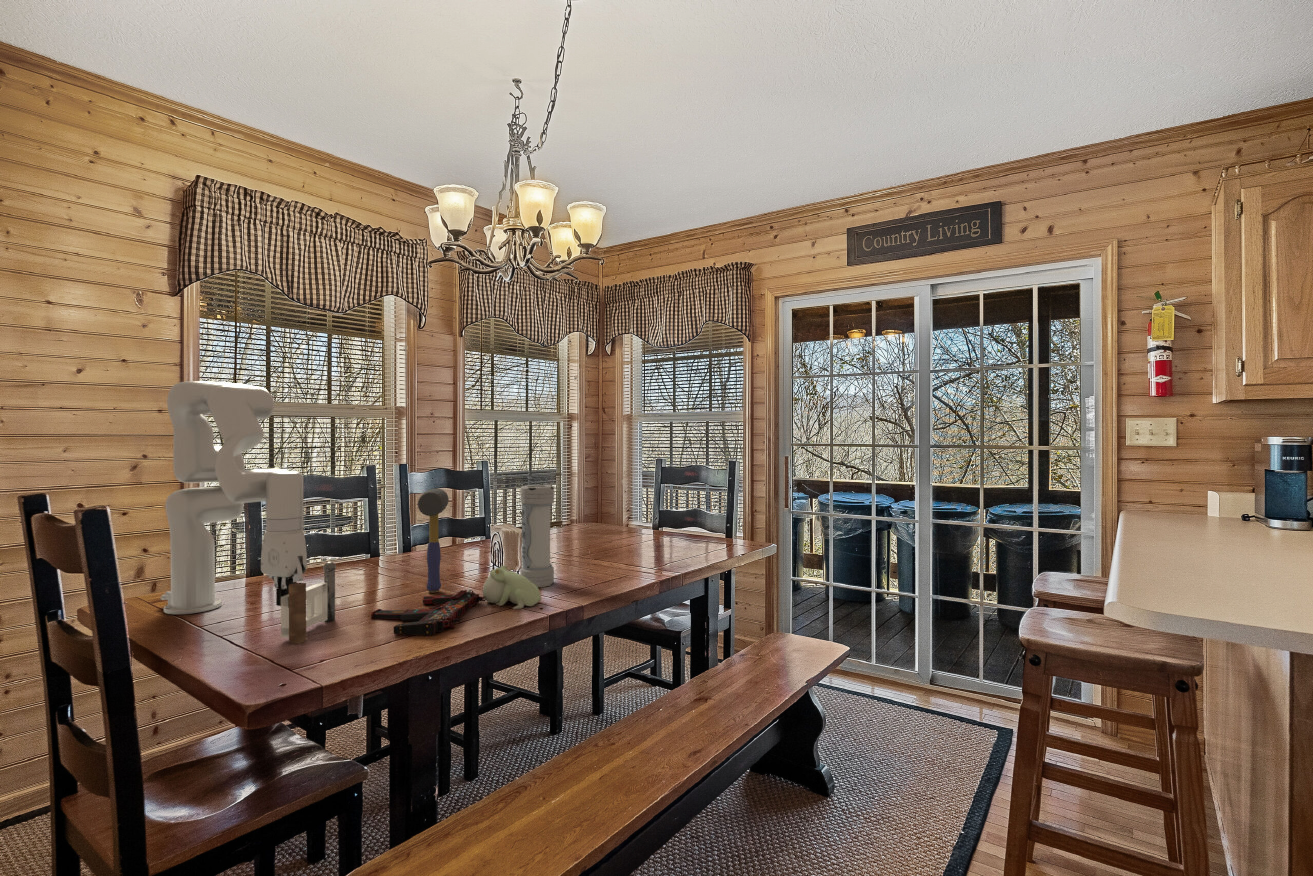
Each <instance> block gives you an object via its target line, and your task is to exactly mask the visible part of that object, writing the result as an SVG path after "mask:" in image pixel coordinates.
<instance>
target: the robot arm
mask: <svg viewBox="0 0 1313 876" xmlns="http://www.w3.org/2000/svg"><path fill="white" fill-rule="evenodd" d="M166 404H167V412H168V415H169V419H170V421H171V425H172V429H173V445H172V446H173V447H172V448H173V449H172V450H173V453H172V454H173V460H172V465H173V468H172V469H173V474H174V477H175V478H176V480H177V481H178V482H180V483H185V484H196V483H197V484H199V483H212V482H213V483H216V482H217V483H218V484H219V485H218V486H209V487H208V486H203V487H202V486H201V487H189V488H187V487H186V488H183V489H179V490H178V489H177V490H175V491H173V492H172V493H170V494H169V495H168V496H167V498H166V500H165V503H164V504H165V507H164V508H165V512H166V513H165V514H166V518H167V522H168V530H169V541H170V542H169V543H170V544H169V546H170V547H169V549H170V550H169V551H170V590H167V591H165V592H164V594H162V595H160V600H161V601H167V604H166V605H165V606H164V607H163V613H165V614H166V615H167V614H168V615H191V614H197V613H203V612H208V611H212V610H215V609H217V608H218V609H219V608H220V607H221V606H222V604H223V600H222V599H221V598H217V597H216V589H215V588H216V583H215V582H216V575H215V574H216V572H215V571H216V570H215V569H216V568H215V566H216V563H215V561H216V558H215V552H216V550H215V545H216V544H215V538H214V536H213V534H212V533H211V532H210V531H209V530H208V529H207V527H205V524H211V523H219V522H227V521H233V520H236V519H238V518H240V516H241V515H242V513H243V511H244V507H245V504H247V503H250V504H251V503H258V502H265V531H264V533H263V537H262V544H261V554H260V571H261V573H263V574H264V575H266V576H267V577H268V578H269V579H271V580H273V584H274V585H273V586H274V588H275V589H276V590H275V591H276V592H275V593H276V594H275V600H276V602H275V605H276V606H277V607H281V597H283V596H285V595H288V594H289V585H290V584H293V583H298V582H301V581H303V580H304V575H303V574H305V573H306V572H307V565H308V564H307V562H308V559H307V558H308V557H307V556H308V555H307V545H306V538H305V537H306V536H305V532H304V475H303V474H302V473H301V472H299V471H294V470H287V469H283V468H261V469H245V466H246V465H245V459H244V457H243V455H242V453H245V452H247V451H249V450H252V449H253V448H255V447H256V446H258V445H259V444H260V443H261V442H262V441H263V439H264V436H265V433H264V429H263V428H262V425H261V424H260V422H259V420H262V421H263V420H267V419H270V417H271V416H272V415H273V414H274V411H275V402H274V398H273V395H272V394H271V393H270V392H269V390H267V389H266V388H264V387H263V386H262V387H261V386H255V385H251V384H250V385H249V384H246V383H245V384H244V383H234V382H233V383H232V382H218V381H217V382H216V381H204V380H203V381H202V380H201V381H200V380H196V381H195V380H190V381H189V380H188V381H187V380H186V381H180V382H178V383H174V384H173V385H172V386H171V388H170V389H169V391H168V393H167V399H166ZM204 415H210V416H212V418H213V421H214V422H215V424H216V427H217V430H218V431H219V434H220V436H221V438H222V440H223V444H222V445H221V446H220V445H214V429H213V426H212V425H211V424H210V422H209V420H208V419H206V417H205V416H204Z"/></svg>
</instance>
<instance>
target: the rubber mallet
mask: <svg viewBox="0 0 1313 876" xmlns="http://www.w3.org/2000/svg"><path fill="white" fill-rule="evenodd" d="M449 499H450V498H449V495H448V493H447V492H446V491H445V490H444V489H441V488H431V489H428V490H426V491H424V492H423V493H422V494H421V495H420V497H419V499H418V501H417V507H418V511H419V512H420V513H422V514H423V515H424V516H427V517H429V522H428V523H429V527H428V528H429V530H428V531H429V539H428V540H429V541H428V544H427V548H426V549H427V551H426V563H427V583H426V589H427V591H428V592H429V593H438V592H440V590H441V588H442V582H441V579H440V578H441V574H440V573H441V572H440V570H441V568H440V566H441V558H442V555H441V544H440V542H439V540H440V539H439V532H440V531H439V514H441V513H442V512H443V511H445V509H446V508H447V506H448V505H449Z"/></svg>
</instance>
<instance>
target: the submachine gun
mask: <svg viewBox="0 0 1313 876" xmlns="http://www.w3.org/2000/svg"><path fill="white" fill-rule="evenodd" d="M480 602H487V601H486V600H485V597H483V596H480V594H479V593H476V592H474V590H473V589H469V590H466V589H464V590H463V589H461V590H460V591H458V592H457V593H456V594H454V595H453V594H452V595H451V594H449V595H448V594H447V595H424V596H423V597H422V604H423V605H432V604H433V606H431V607H429V608H421V609H420V608H419V609H417V608H415V609H413V608H412V609H411V608H409V609H404V610H401V609H400V610H396V609H395V610H391V609H390V610H389V609H388V610H387V609H381V608H378V609H376V610H373V611H371V614H370V619H371V620H374V619H375V620H400V621H401V622H402V623H399V624H396V625H395V626H393V635H401V636H402V635H405V636H407V635H408V636H409V635H411V636H433V635H435V634H436V633H437V632H438V633H441V632H444V631H445V630H446V628H449V629H454V628H455V623H461V622H462V619H461V616H462V615H464V614H465V613H466V612H467V611H469V610H470V609H471V608H472V607H473V606H474V605H477V604H479V603H480ZM406 621H407V622H406ZM403 622H405V623H403Z"/></svg>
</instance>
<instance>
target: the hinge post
mask: <svg viewBox="0 0 1313 876" xmlns="http://www.w3.org/2000/svg"><path fill="white" fill-rule="evenodd" d="M322 568H323V569H322V570H323V579H324V580H323V581H324V582H323V583H327V585H328V591H327V608H328V614H327V620H326V621H324V622H325V623H331V622H335V621H336V569H337V566H336V563H335V562H333V561H326V563H324V564H323V567H322Z"/></svg>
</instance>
